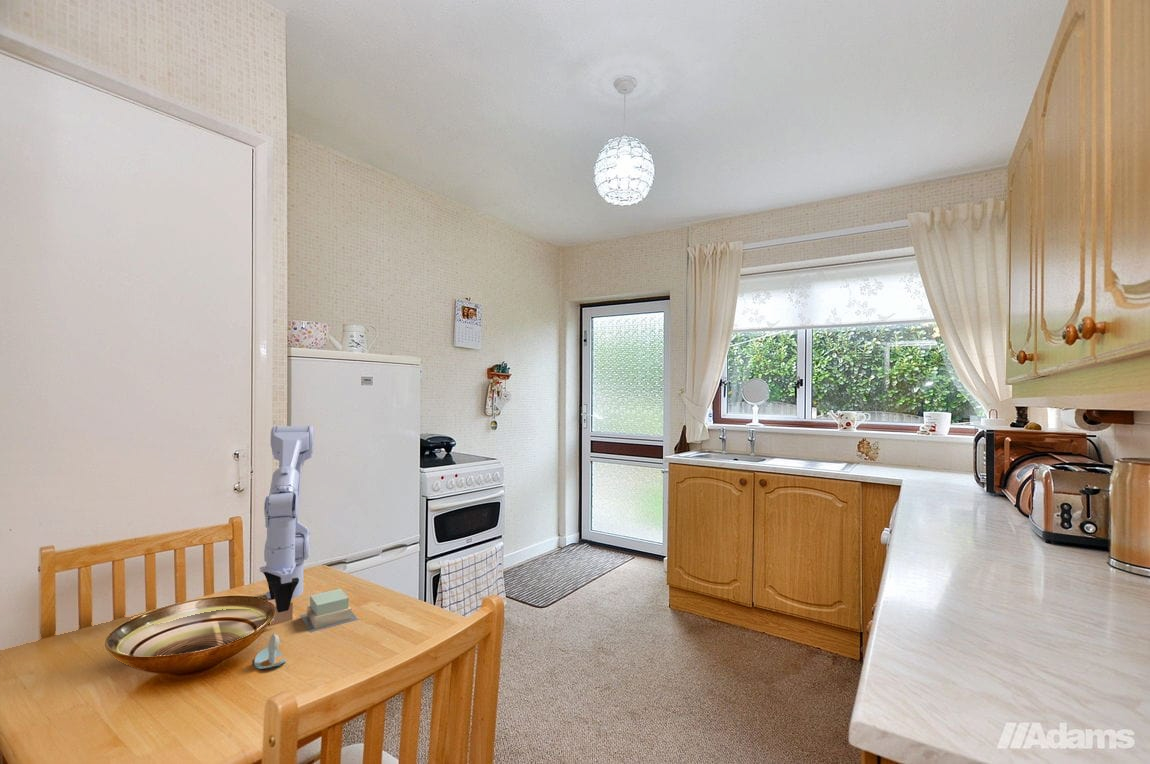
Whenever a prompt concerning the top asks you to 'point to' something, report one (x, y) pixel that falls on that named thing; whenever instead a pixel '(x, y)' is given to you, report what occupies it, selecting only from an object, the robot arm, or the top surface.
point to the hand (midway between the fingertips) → (279, 605)
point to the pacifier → (269, 654)
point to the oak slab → (328, 617)
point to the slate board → (312, 629)
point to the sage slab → (329, 602)
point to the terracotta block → (282, 614)
